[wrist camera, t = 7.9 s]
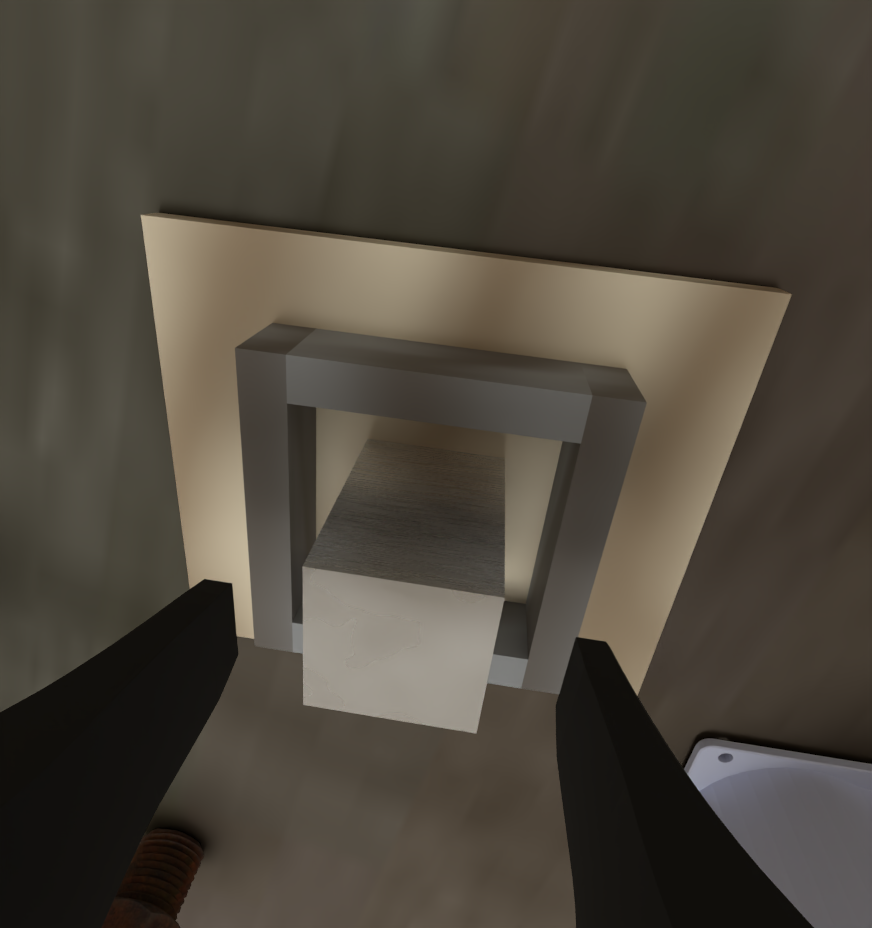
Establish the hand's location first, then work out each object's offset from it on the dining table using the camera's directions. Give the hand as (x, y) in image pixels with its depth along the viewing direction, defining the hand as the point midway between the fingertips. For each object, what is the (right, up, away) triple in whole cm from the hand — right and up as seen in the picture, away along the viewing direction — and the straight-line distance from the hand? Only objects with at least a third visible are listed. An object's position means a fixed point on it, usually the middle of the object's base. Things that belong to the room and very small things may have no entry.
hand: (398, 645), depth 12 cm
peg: (+1, +2, +5) cm, 6 cm away
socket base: (+1, +3, +6) cm, 7 cm away
